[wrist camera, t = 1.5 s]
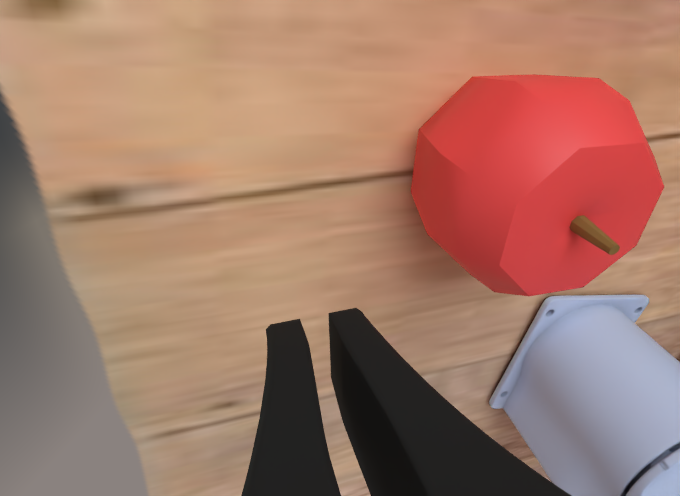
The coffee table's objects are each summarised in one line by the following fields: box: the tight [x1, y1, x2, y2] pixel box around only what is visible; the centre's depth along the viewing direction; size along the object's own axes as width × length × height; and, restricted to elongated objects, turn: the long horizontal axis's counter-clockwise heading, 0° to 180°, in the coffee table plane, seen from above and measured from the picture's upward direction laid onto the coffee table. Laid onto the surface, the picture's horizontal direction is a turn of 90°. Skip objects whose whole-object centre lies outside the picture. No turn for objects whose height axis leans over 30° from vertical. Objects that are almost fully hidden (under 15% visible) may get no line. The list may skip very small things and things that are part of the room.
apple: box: [411, 75, 664, 296], centre depth 16 cm, size 8×8×8 cm
